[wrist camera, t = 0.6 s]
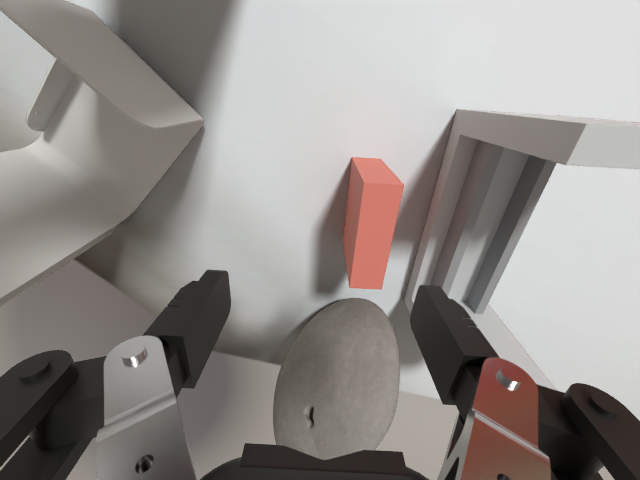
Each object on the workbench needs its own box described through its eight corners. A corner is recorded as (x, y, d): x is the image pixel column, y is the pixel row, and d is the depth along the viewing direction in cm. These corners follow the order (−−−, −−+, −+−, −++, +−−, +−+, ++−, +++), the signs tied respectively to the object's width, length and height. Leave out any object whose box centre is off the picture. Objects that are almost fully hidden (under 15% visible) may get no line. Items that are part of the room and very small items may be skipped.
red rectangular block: (351, 157, 27) (364, 182, 19) (380, 158, 27) (404, 184, 19) (342, 240, 32) (349, 287, 24) (366, 241, 32) (381, 289, 24)
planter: (304, 354, 42) (293, 517, 26) (269, 333, 40) (233, 498, 24) (393, 289, 36) (454, 454, 19) (357, 259, 33) (392, 418, 17)
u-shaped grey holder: (456, 109, 25) (586, 123, 13) (559, 115, 25) (784, 135, 13) (404, 300, 37) (445, 403, 24) (474, 303, 37) (550, 406, 25)
